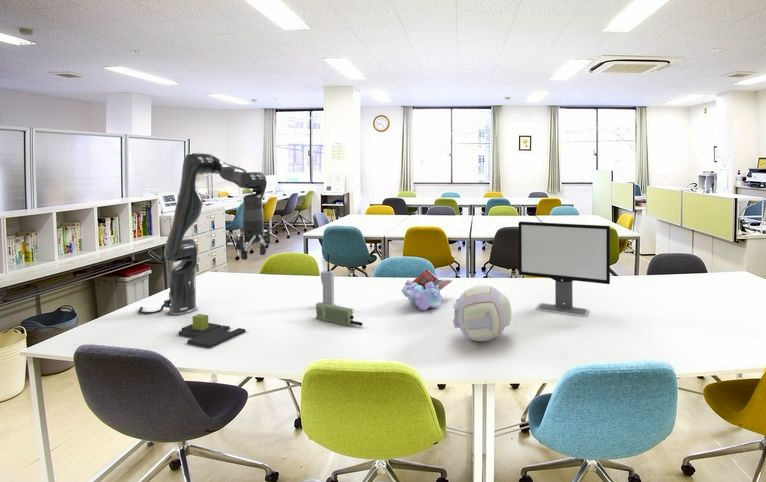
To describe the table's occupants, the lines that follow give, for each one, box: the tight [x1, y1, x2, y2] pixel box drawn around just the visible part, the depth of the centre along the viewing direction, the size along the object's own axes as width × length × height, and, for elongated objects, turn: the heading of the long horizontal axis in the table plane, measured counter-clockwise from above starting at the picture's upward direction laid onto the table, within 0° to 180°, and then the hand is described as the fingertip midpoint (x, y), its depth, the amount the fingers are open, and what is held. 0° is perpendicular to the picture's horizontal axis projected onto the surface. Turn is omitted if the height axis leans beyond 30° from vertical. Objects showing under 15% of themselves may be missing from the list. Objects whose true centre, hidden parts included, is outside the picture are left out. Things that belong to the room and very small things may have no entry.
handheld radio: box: [315, 302, 363, 327], centre depth 156 cm, size 7×3×25 cm
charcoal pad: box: [186, 324, 246, 349], centre depth 142 cm, size 12×14×1 cm
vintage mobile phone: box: [320, 253, 335, 305], centre depth 174 cm, size 4×5×25 cm
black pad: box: [178, 313, 223, 339], centre depth 148 cm, size 10×13×6 cm
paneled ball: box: [452, 284, 512, 342], centre depth 140 cm, size 21×22×20 cm
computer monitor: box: [518, 221, 611, 317], centre depth 168 cm, size 41×8×40 cm, turn 68°
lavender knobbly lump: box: [401, 269, 454, 311], centre depth 176 cm, size 20×22×18 cm
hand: (253, 257), depth 155 cm, fingers open, 8 cm apart
